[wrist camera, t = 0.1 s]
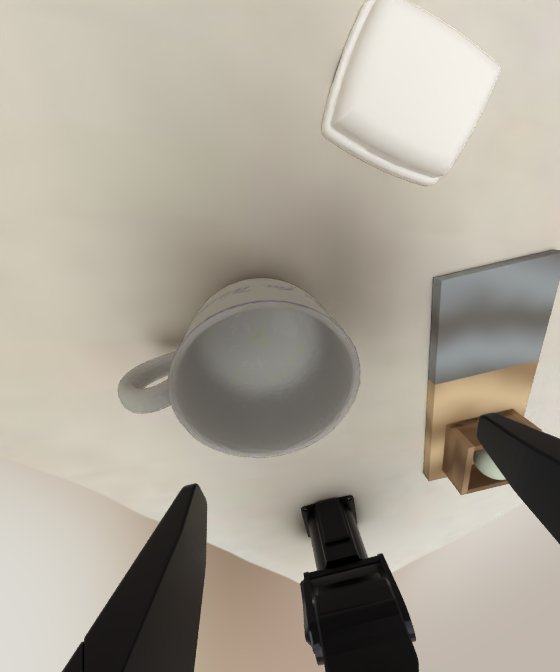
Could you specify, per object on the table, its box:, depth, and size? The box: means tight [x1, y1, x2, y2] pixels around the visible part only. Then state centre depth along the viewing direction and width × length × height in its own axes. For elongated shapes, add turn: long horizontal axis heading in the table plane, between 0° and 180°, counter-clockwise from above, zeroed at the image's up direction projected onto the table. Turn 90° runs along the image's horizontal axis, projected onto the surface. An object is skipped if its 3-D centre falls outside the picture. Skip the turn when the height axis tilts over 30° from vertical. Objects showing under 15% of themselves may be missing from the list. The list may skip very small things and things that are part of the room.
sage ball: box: [473, 449, 506, 480], centre depth 26 cm, size 4×4×4 cm
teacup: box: [118, 278, 360, 458], centre depth 18 cm, size 14×11×8 cm
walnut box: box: [442, 409, 542, 495], centre depth 27 cm, size 7×7×3 cm
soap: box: [322, 0, 501, 186], centre depth 15 cm, size 9×7×3 cm
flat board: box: [424, 250, 560, 481], centre depth 26 cm, size 24×10×1 cm, turn 12°
